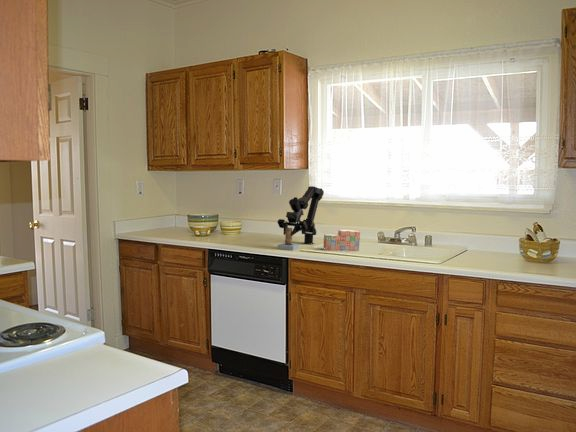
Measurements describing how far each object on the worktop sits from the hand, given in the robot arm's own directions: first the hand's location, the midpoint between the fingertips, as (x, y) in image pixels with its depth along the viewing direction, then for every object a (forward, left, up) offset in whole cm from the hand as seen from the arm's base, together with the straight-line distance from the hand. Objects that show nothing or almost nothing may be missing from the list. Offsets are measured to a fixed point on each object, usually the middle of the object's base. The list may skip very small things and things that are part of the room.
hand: (287, 235), depth 315 cm
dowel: (-1, 0, -9) cm, 9 cm away
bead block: (-1, 0, -8) cm, 9 cm away
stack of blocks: (-18, +29, -9) cm, 35 cm away
